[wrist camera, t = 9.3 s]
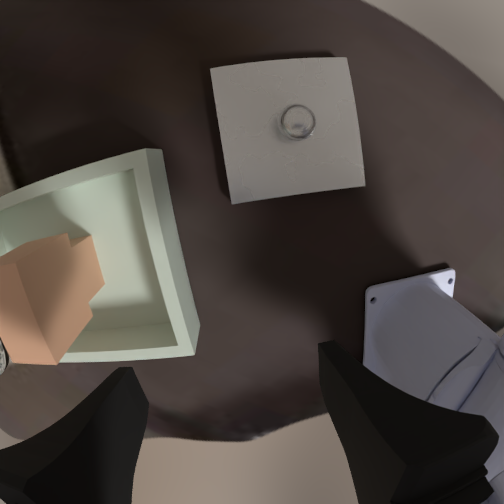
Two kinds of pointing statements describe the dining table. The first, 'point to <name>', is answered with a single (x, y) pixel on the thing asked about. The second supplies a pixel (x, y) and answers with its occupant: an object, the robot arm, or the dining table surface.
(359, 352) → the dining table surface
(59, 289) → the light orange block
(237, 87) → the stud plate
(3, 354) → the ink bottle
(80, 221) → the parts bin
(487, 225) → the dining table surface
